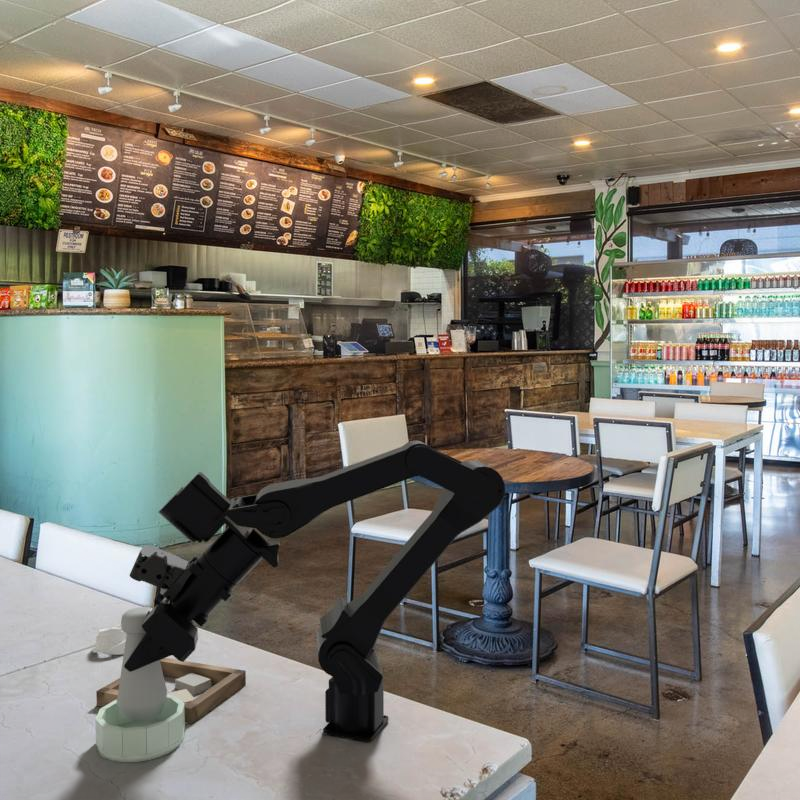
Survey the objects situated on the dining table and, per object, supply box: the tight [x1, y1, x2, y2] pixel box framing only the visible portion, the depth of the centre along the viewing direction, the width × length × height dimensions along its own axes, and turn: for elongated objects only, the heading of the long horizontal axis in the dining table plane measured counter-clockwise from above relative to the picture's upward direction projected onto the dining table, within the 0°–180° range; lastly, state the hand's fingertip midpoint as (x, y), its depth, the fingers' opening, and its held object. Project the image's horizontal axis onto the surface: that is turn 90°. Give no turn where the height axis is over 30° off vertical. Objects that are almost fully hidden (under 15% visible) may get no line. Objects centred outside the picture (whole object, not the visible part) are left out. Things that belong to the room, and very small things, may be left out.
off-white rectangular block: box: [174, 673, 212, 696], centre depth 113 cm, size 4×3×2 cm
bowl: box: [94, 695, 186, 763], centre depth 97 cm, size 10×10×4 cm
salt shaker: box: [117, 606, 168, 723], centre depth 97 cm, size 6×6×13 cm
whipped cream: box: [91, 623, 127, 656], centre depth 128 cm, size 8×7×5 cm
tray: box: [96, 657, 247, 725], centre depth 111 cm, size 15×13×2 cm
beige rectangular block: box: [167, 689, 196, 703], centre depth 107 cm, size 4×3×2 cm
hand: (129, 662), depth 97 cm, fingers closed on salt shaker, 3 cm apart
